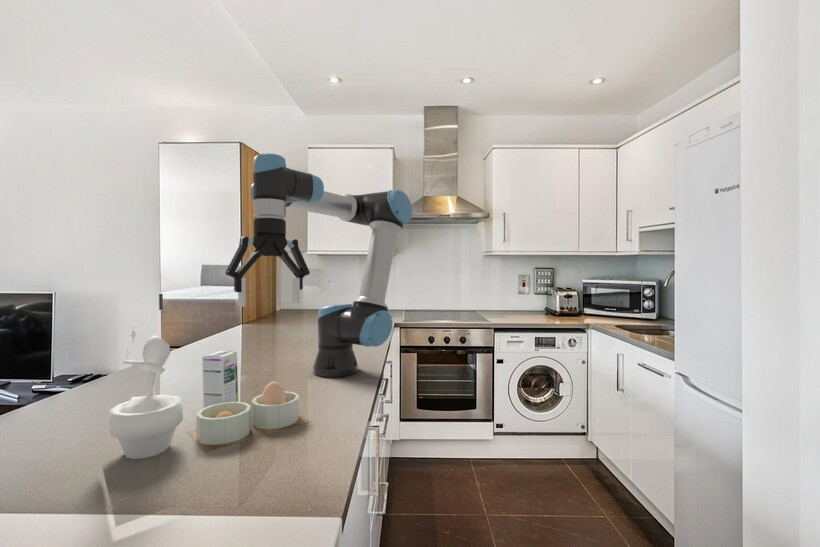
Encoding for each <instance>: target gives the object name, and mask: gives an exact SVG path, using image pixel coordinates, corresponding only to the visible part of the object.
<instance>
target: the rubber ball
mask: <svg viewBox="0 0 820 547" xmlns="http://www.w3.org/2000/svg"><path fill="white" fill-rule="evenodd" d="M232 415H233V414H232V413H231V412H228V411H224V412H221V413H219V414H218V415H217V416H216V418H222V417H228V416H232Z"/></svg>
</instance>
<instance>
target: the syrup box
mask: <svg viewBox="0 0 820 547" xmlns="http://www.w3.org/2000/svg"><path fill="white" fill-rule="evenodd" d="M201 359H202V395H203V397H202V399H203V408H206V407H208V406H210V405H215V404H219V403H224V402H239V392H238V391H239V390H238V387H239V386H238V385H239V384H238V381H239V380H238V376H239V375H238V353H237V352H236V351H231V350H225V351H224V350H222V351H219V350H218V351H216V352H214V353H210V354H207V355H206V354H205V355H203V356H202V357H201Z"/></svg>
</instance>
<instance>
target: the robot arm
mask: <svg viewBox="0 0 820 547" xmlns="http://www.w3.org/2000/svg"><path fill="white" fill-rule="evenodd" d="M252 178H253V179H252V180H253V183H252V184H251V186H250V191H249V192H250V198H251V199H252V201H253V216H254V217H255V218H254V219H253V236H252V238H251V237H248V236H241V237H240V238H239V242H238V248H237V249H236V251H235V253H234V255H233V257H232V258H231V261H230V263H229V264H228V266H227V269H226V270H225V273H224V274H225V275H226V276H228V277H231V278H232V279H233V284H234V285H233V291H234V292H235V293H237V295H238V296H237V297H238V299H237V300H238V304H237V305H238V307H241V308H243V307H244V308H245V307H247V305H246V304H247V302H246V301H247V300H246V297H247V296H246V293H247V292H246V291H247V290H246V289H247V288H246V284H247V283H246V280H247V279H246V278H242V277H244V275H245V274H246V273H247V272H248V271H249V270H250V269H251V267H252V266H253V265H254V264H255V263H256V262H257V260H258V259H259V258H260V257H279V259H281V261H282V262H283V263H284V264H285V265H286V266H287V268H288V269H289V271H290V272H291V273H292V274H293V275H294V276H295V277H292V278H291V280H292V282H291V283H292V284H291V286H292V288H291V290H292V292H291V293H292V295H291V297H292V303H293V304H294V303H295V304H300V303H301V295H300V294H301V291H302V290H303V287H304V284H303V283H304V282H303V280H304V278H305V276H309V275H310V274H311V272H310V270H309V267H308V266H307V262H306V261H305V258H304V257H303V255H302V253H301V252H302V251H301V250H300V248H299V240H298V239H297V238H293V239H289V240H287V237H286V235H287V221H286V220H285V218H287V209H292V210H298V211H305V212H308V213H309V212H310V213H314V214H320V215H325V216H331V217H335V218H336V217H337V218H339V219H340V220H341V221H343V222H347V223H352V224H357V225H361V226H369V227H370V229H371V231H372V232H371V237H370V241H369V247H368V251H367V256H366V261H365V266H364V272H363V275H362V280H361V285H360V291H359V297H358V298H356V299H355V300H353V302H352V303H344V304H335V305H327V306H321V307H319V310H318V317H317V338H318V340H317V342H318V343H317V344H318V350H317V353H316V355H315V356H316V357H315V359H314V363H313V366H312V374H314V375H315V376H317V375H318V376H317V377H322V376H323V377H322V378H341V376H342V377H346V376H347V375H348V376H351V375H354V374H356V373H357V372H358V371H359V370H358V368H359V365H358V361H357V359H356V358H357V357H356V356H355V353H354V349H353V346H354V345H357V346H364V347H366V348H367V347H374V348H375V347H379V346H382V345H383V344H384V343H385V342H386V341H387V340H388V339H389V337H390V336H391V333H392V330H393V320H392V315H391V314H390V313H389V311H388V310H389V307H388V305H387V304H386V298H387V297H386V296H387V291H388V286H389V285H388V284H389V280H390V274H391V269H392V264H393V259H394V258H393V257H394V253H395V248H396V241H397V236H399V235H400V234H402V233H403V229H404V227H403V226H404V225H406V224H409V222H410V221H411V220H412V218H413V207H412V202H411V201H410V198H409V196H408V195H407V193H405V192H404V191H403V190H399V189H396V190H392V189H390V190H388V191H380V192H371V193H364V194H350V193H345V194H343V195H342V194H337V193H333V192H329V191H325V188H324V187H325V185H324V182H323V180H322V179H321V178H320V177H319V176H318V175H315V174H312V173H310V172H309V173H308V172H303V171H300V170H295V169H292V168H289V167H287V162H286V159H285V157H284V156H281V155H279V154H276V153H269V152H267V153H264V152H263V153H259V154H256V156H255V157H254V158H253V166H252ZM251 244H252V246H253V247H254V248H255V249H253V251H252V252H251V254H250V255H249V256H248V258H246V260H245V261H244V262H243V263H242V264H241V266H239V265H240V263H241V261H242V259H243V257H244V255H246V254H245V253H246V252H247V250H248V247H250V246H251ZM287 246H288V248H289V249H290V252H291V254H292V256H293V258H294V260H293V259H292V258H291V256H290V255H289V253H288V251H286V247H287ZM294 261H295V262H294Z"/></svg>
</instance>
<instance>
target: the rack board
mask: <svg viewBox="0 0 820 547" xmlns="http://www.w3.org/2000/svg"><path fill="white" fill-rule="evenodd" d="M311 422H312V421H311V420H309V419H308V418H306V417H304V416H303V415H301V414H299V419H298V421H297V422H295V423H294V424H292V425H290V426H286V427H283V428H278V429H260V428H256V427H255V426H253V425H252V415H251V431H250V433H249V435H247V436H245V437H244V438H242V439H240V440H237V441H234V442H230V443H227V444H218V445H207V444H202V443H200V442H199V441H198V440H197V429H195V430H192V431H188V432H187V434H188V435H189V436H190V438H192V440H193V442H195V444H196V445H197V446H198V448H199V449H200V450H201V451H202V452H203V453H207V452H211V451H215V450H218V449H221V448H225V447H229V446H232V445H235V444H238V443H241V442H245V441H248V440H253V439H256V438H260V437H262V436H266V435H269V434H273V433H276V432H280V431H283V430H287V429H291V428H294V427H298V426H300V425H304V424H307V423H311Z"/></svg>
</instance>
